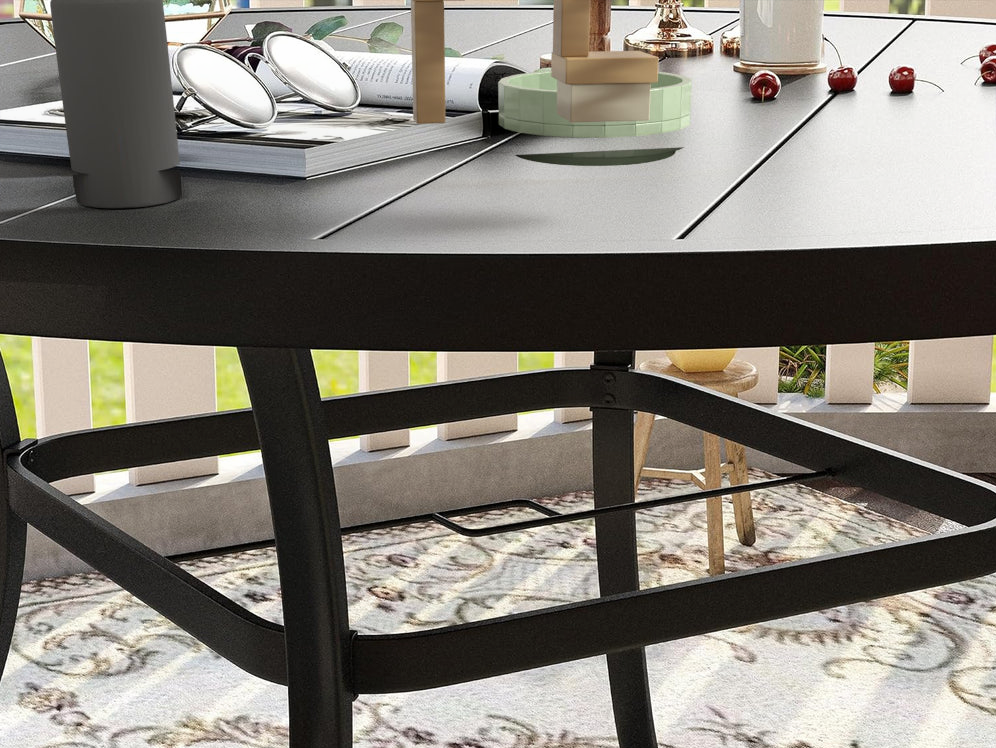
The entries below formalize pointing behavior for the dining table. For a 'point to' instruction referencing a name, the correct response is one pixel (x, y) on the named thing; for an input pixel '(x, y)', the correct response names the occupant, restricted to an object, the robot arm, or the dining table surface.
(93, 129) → the bottle
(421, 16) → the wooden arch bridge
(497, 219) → the dining table surface
